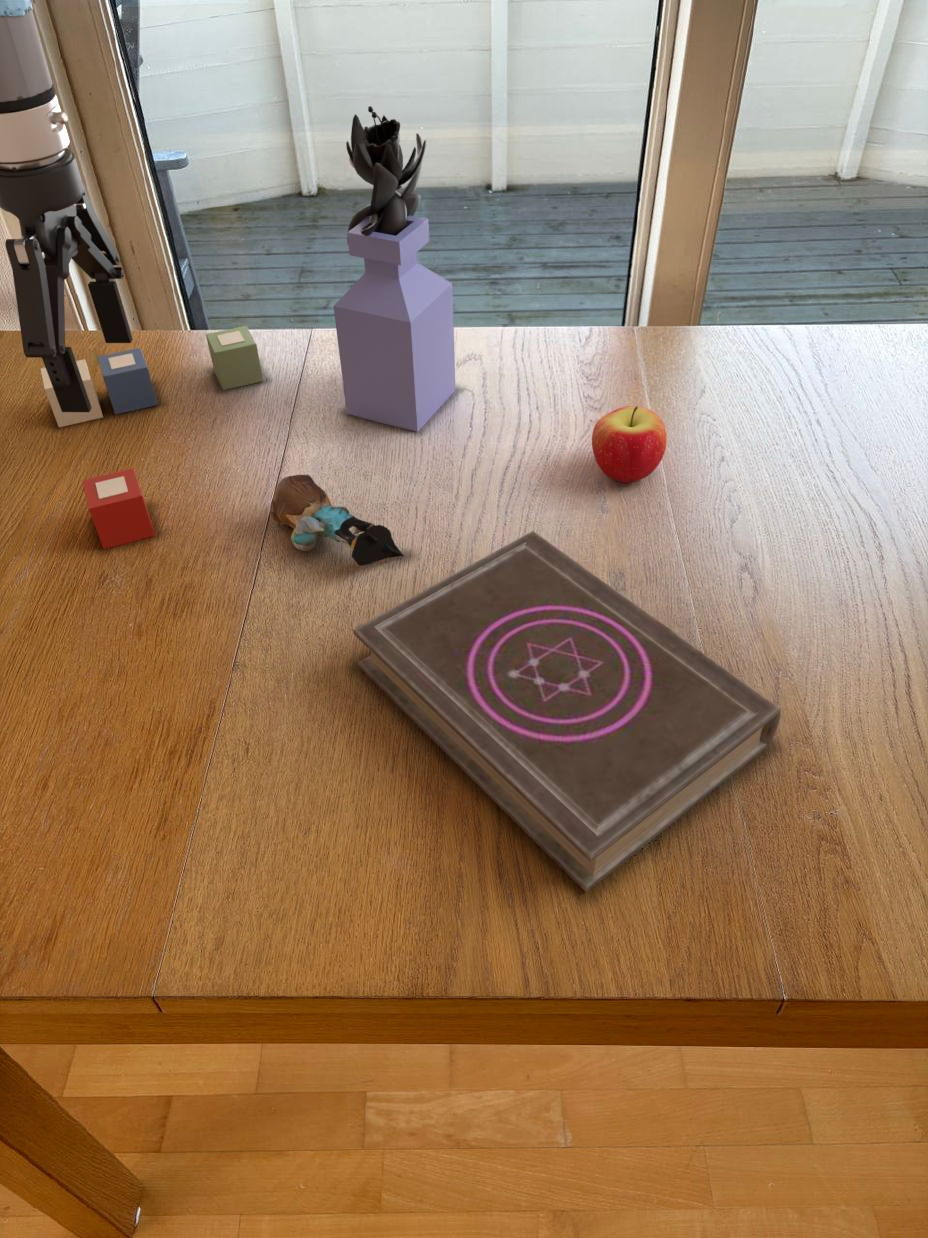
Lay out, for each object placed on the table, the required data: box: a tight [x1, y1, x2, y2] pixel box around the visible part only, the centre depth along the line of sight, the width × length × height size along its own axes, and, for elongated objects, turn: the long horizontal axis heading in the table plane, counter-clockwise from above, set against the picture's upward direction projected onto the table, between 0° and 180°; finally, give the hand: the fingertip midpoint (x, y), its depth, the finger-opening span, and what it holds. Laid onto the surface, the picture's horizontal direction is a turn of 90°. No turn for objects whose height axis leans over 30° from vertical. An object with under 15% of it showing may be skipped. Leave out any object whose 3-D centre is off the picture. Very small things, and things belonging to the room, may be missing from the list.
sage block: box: [205, 325, 264, 391], centre depth 126 cm, size 6×6×6 cm
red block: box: [82, 467, 156, 550], centre depth 103 cm, size 6×6×6 cm
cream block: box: [40, 359, 104, 428], centre depth 120 cm, size 6×6×6 cm
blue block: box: [96, 347, 159, 415], centre depth 122 cm, size 6×6×6 cm
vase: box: [333, 106, 457, 433], centre depth 111 cm, size 14×12×35 cm
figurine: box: [269, 474, 405, 567], centre depth 100 cm, size 8×16×6 cm, turn 48°
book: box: [352, 530, 782, 893], centre depth 84 cm, size 30×22×5 cm
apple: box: [591, 405, 668, 483], centre depth 107 cm, size 8×8×10 cm
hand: (99, 374), depth 97 cm, fingers open, 13 cm apart
